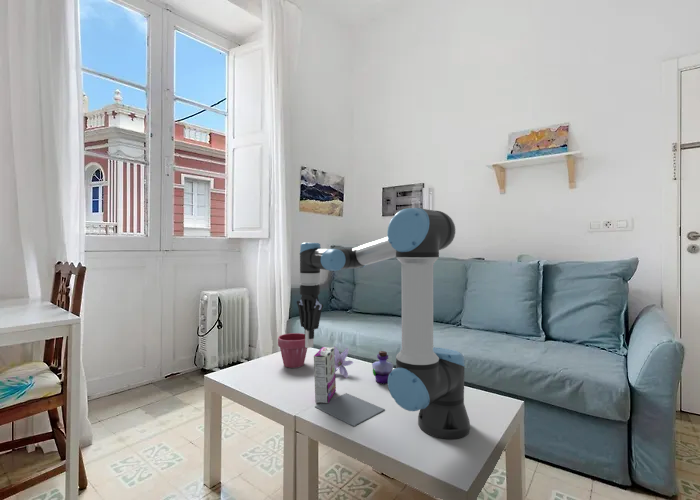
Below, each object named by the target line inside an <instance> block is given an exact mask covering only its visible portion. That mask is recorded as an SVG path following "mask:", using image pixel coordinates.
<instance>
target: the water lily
mask: <svg viewBox="0 0 700 500" xmlns="http://www.w3.org/2000/svg"><path fill="white" fill-rule="evenodd" d="M333 348H334V353H335V373H336V372H337V371H339V374H340V375H342V376H343V377H344V378H345V379H348V378H349V373H348V370H347V368H346V367H345V366H347V367H348V366H351V365H352V364H354V361H353V360H346V358H347V357H348V354H349V347H346V348H345V349H343V351H342V352H341V353H340V351H339V348H338V347H336V346H335V345H334V346H333Z"/></svg>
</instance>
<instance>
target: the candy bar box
mask: <svg viewBox="0 0 700 500" xmlns="http://www.w3.org/2000/svg"><path fill="white" fill-rule="evenodd" d="M313 370H314V371H313V372H314V394H315V395H314V398H315V400H314V401H315V403H316V404H322V403H329V401H330V400H331V399H333V396H334V395H335V393H336V392H337V390H336V389H337V387H336V383H337V382H336V372H335V353H334V346H333V347H330V346H327V347H326V346H322V347H321V348H320V349H319V350H318V351H317V352H316V353H315V354H314V355H313Z"/></svg>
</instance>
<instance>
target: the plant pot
mask: <svg viewBox="0 0 700 500" xmlns="http://www.w3.org/2000/svg"><path fill="white" fill-rule="evenodd" d="M277 346H278V347H279V348H280V354H281V359H282V363H283V367H286V368H291V369H297V368H301V367H303V366H304V365H305V360H306V357H307V351H308V348H306V347H305V333H301V332H300V333H299V332H294V333H293V332H292V333H284V334H281V335H279V336H278V337H277Z"/></svg>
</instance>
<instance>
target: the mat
mask: <svg viewBox="0 0 700 500" xmlns="http://www.w3.org/2000/svg"><path fill="white" fill-rule="evenodd" d="M314 408H316V409H318V410H320V411H322V412H323V413H325V414H328V415H329V416H332V417H334V418H336V419H338V420H340V421H342V422H343V423H346V424H348V425H350V426H351V427H356V426H358V425H359V424H361V423H364V422H366V421H367V420H369V419H371V418H373V417H374V416H376V415H378V414H380V413H382V412H385V410H386V409H385V408H384V407H380V406H378V405H376V404H374V403H371V402H368V401H366V400H364V399H361V398H360V397H357V396H354V395H352V394H350V393H347V392H345V393H343V394H341V395H338V396H337V397H334V398H333V397H332V398H331V400H330V401H329V403H318V404H317V405H315V406H314Z"/></svg>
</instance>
